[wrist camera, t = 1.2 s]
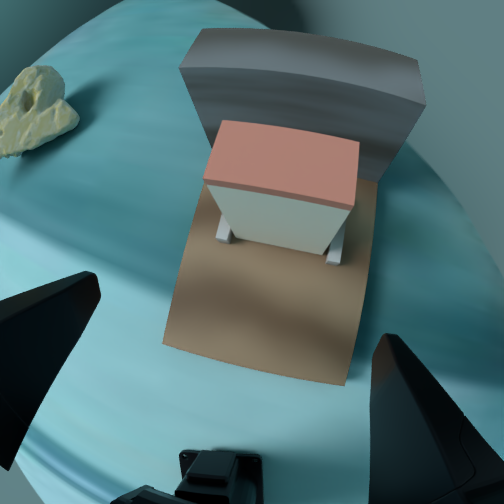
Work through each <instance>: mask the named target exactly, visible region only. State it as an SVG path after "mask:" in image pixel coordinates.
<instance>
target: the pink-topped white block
mask: <svg viewBox="0 0 504 504" xmlns="http://www.w3.org/2000/svg"><path fill="white" fill-rule="evenodd" d="M359 143H360V142H357V141H353V140H348V139H344V138H339V137H335V136H330V135H325V134H320V133H315V132H309V131H304V130H298V129H292V128H285V127H279V126H272V125H264V124H257V123H248V122H239V121H229V120H222V123H221V125H220V128H219V131H218V134H217V137H216V140H215V143H214V146H213V148H212V151H211V154H210V157H209V160H208V163H207V167H206V170H205V173H204V176H203V180H204V181H205V183H206V185H207V187H208V189H209V190H210V192H211V194H212V196H213V198H214V199H215V201H216V203H217V205H218V207H219V208H220V210H221V212H222V214H223V216H224V217H225V219H226V221H227V223H228V224H229V226H230V228H231V230H232V232H233V233H234V235H235V237H236V238H239V239H244V240H250V241H255V242H260V243H265V244H270V245H275V246H280V247H285V248H289V249H294V250H299V251H304V252H309V253H314V254H319V255H322V254H323V253H324V251H325V250H326V248H327V247H328V245H329V244H330V242H331V241H332V239H333V238H334V236H335V235H336V233H337V232H338V230H339V228H340V227H341V225H342V224H343V222H344V221H345V219H346V218H347V216H348V214H349V213H350V211H351V210H352V208H353V207H354V202H355V192H356V182H357V171H358V158H359Z"/></svg>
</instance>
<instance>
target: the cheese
mask: <svg viewBox="0 0 504 504" xmlns="http://www.w3.org/2000/svg"><path fill="white" fill-rule="evenodd" d="M64 95H65V83H64V80H63V78H62V77H61V75H60V74H59V73H58V72H57V71H56V70H55V69H54V68H53V67H52V66H46V65H44V66H39V65H37V66H32V67H27V68H26V69H24V70H23V71H22V72H21V73H20V74H19V75H18V77H17V78H16V79H15V81H14V84H13V86H12V88H11V90H10V93H9V95H8V97H7V98H6V99H5V101H4V102H3V103H2V104H1V105H0V159H1V158H2V157H4V156H5V157H6V158H9V156H14V157H18V156H20V155H21V153H22V152H23V151H25V150H32V149H35V148H36V147H39V146H41V145H42V144H44V143H46V142H48V141H52V140H54V139H55V138H56V137H57V136H59V135H62V134H64V133H65V132H67V131H69V130H72V129H74V128H75V127H76V126H77V124H78V122H79V120H80V117H79V115H78V114H77V112H76V111H75V110H74V108H72V107H71V106H70V105H69V104H68V103H67V102H66V101H65V100H63V99H64Z"/></svg>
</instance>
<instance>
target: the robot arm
mask: <svg viewBox="0 0 504 504" xmlns="http://www.w3.org/2000/svg"><path fill="white" fill-rule="evenodd" d="M100 299H101V292H100V287H99V283H98V278H97V276H96V274H94V273H92V272H88V271H83V272H80V273H77V274H74V275H71V276H68V277H66V278H63V279H60V280H57V281H54V282H51V283H48V284H45V285H42V286H40V287H37V288H34V289H31V290H28V291H26V292H23V293H20V294H17V295H14V296H12V297H9V298H6V299H4V300H1V301H0V466H1V467H3V468H4V469H5V470H7V471H9V470H10V467H11V465H12V463H13V461H14V459H15V456H16V454H17V452H18V450H19V448H20V445H21V443H22V441H23V439H24V437H25V435H26V433H27V431H28V429H29V426H30V424H31V422H32V420H33V418H34V416H35V414H36V412H37V411H38V409H39V407H40V405H41V403H42V401H43V399H44V397H45V396H46V394H47V392H48V390H49V388H50V387H51V385H52V383H53V381H54V380H55V378H56V376H57V374H58V373H59V371H60V369H61V368H62V366H63V364H64V363H65V361H66V359H67V358H68V356H69V354H70V353H71V351H72V350H73V348H74V346H75V345H76V343H77V342H78V340H79V338H80V337H81V335H82V333H83V331H84V330H85V328H86V326H87V324H88V322H89V320H90V318H91V316H92V314H93V312H94V311H95V309H96V307H97V305H98V303H99V301H100ZM183 454H185V455H187V456H188V457H185V456H184V455H183ZM253 459H257V460H258V461H257V462H254V461H253ZM179 460H180V467H181V474H182V481H181V483H180V484H179V486H178V487H177V489H176V490H175V494H174V495H170V494H167V493H164V492H161V491H158V490H156V489H154V487H151V486H148V485H144V486H142V487H140V488H138V489H135V490H133V491H131V492H129V493H127V494H124V495H122V496H120V497H118V498H117V499H115V500H113V501H111V503H110V504H264V499H263V469H262V457H261V456H260V455H258V454H235V453H234V452H223V451H208V450H202V451H191V450H183V451H181V452H180V454H179ZM368 504H504V461H503V460H502V459H501V458H500V456H499V455H498V454H497V453H496V452H495V451H494V450H493V449H492V448H491V446H490V445H489V444H488V443H487V442H486V441H485V439H484V438H483V437H482V436H481V435H480V434H479V432H478V431H477V430H476V429H475V427H474V426H473V425H472V424H471V422H470V421H469V420H468V418H467V417H466V416H464V413H463V412H462V411H461V410H460V408H459V407H458V406H457V405H456V403H455V402H454V401H453V400H452V398H451V397H450V396H449V395H448V393H447V392H446V391H445V390H444V389H443V387H442V386H441V385H440V384H439V382H438V381H437V380H436V379H435V378H434V376H433V375H432V374H431V373H430V372H429V370H428V369H427V368H426V367H425V366H424V365H423V363H422V362H421V361H420V360H419V359H418V358H417V356H416V355H415V354H414V353H413V352H412V351H411V349H410V348H409V347H408V346H407V345H406V344H405V343H404V341H403V340H402V339H401V338H400V337H399V336H398V335H396V334H390V333H385V334H383V335H382V337H381V339H380V341H379V343H378V345H377V347H376V349H375V351H374V353H373V357H372V373H371V391H370V484H369V501H368Z"/></svg>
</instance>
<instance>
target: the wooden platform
mask: <svg viewBox="0 0 504 504" xmlns="http://www.w3.org/2000/svg"><path fill="white" fill-rule="evenodd" d="M179 70H180V72H181V75H182V77H183V80H184V82H185V84H186V87H187V89H188V92H189V94H190V97H191V99H192V101H193V104H194V106H195V109H196V111H197V114H198V116H199V118H200V121H201V123H202V126H203V128H204V131H205V133H206V136H207V138H208V140H209V143H210V145H211V148H213V146H214V143H215V140H216V137H217V134H218V131H219V128H220V125H221V123H222V120H229V121H239V122H248V123H257V124H264V125H272V126H279V127H285V128H292V129H298V130H304V131H309V132H315V133H320V134H325V135H330V136H335V137H339V138H344V139H348V140H353V141H357V142H360V143H359V158H358V171H357V182H356V192H355V202H354V207H353V208H352V210H351V211H350V213H349V214H348V216H347V218H346V219H345V221H344V222H343V224H342V225H341V227H340V228H339V230H338V232H337V233H336V235H335V236H334V238H333V239H332V241H331V242H330V244H329V245H328V247H327V248H326V250H325V251H324V253H323V254H322V255H319V254H314V253H309V252H304V251H299V250H294V249H289V248H285V247H280V246H275V245H270V244H265V243H260V242H255V241H250V240H244V239H239V238H236V237H235V235H234V233H233V232H232V230H231V228H230V226H229V224H228V223H227V221H226V219H225V217H224V216H223V214H222V212H221V210H220V208H219V207H218V205H217V203H216V201H215V199H214V198H213V196H212V194H211V192H210V190H209V189H208V187H207V185H206V183H205V181H204V185H203V188H202V191H201V194H200V198H199V201H198V204H197V208H196V211H195V215H194V218H193V222H192V225H191V229H190V232H189V236H188V239H187V243H186V247H185V250H184V254H183V258H182V262H181V266H180V269H179V273H178V277H177V281H176V285H175V289H174V294H173V298H172V302H171V306H170V311H169V315H168V319H167V324H166V328H165V333H164V338H163V342H162V344H164V345H167V346H171V347H174V348H177V349H180V350H183V351H187V352H190V353H193V354H197V355H200V356H204V357H207V358H211V359H214V360H218V361H222V362H226V363H229V364H233V365H237V366H241V367H246V368H250V369H254V370H258V371H263V372H267V373H272V374H277V375H282V376H287V377H292V378H297V379H303V380H308V381H314V382H320V383H326V384H333V385H340V386H345V382H346V378H347V374H348V371H349V367H350V363H351V359H352V354H353V350H354V346H355V341H356V337H357V332H358V327H359V323H360V318H361V312H362V307H363V302H364V296H365V290H366V284H367V278H368V271H369V264H370V257H371V250H372V241H373V233H374V223H375V212H376V200H377V186H378V182H379V180H380V179H381V177H382V176H383V174H384V173H385V171H386V170H387V168H388V166H389V165H390V163H391V162H392V160H393V159H394V157H395V156H396V154H397V153H398V151H399V149H400V148H401V146H402V145H403V143H404V141H405V140H406V138H407V137H408V135H409V133H410V132H411V130H412V129H413V127H414V125H415V123H416V122H417V120H418V119H419V117H420V115H421V114H422V112H423V110H424V109H425V107H426V101H425V95H424V90H423V84H422V80H421V74H420V70H419V65H418V61H417V60H415V59H413V58H410V57H407V56H404V55H401V54H398V53H394V52H391V51H388V50H384V49H381V48H377V47H373V46H369V45H365V44H361V43H357V42H352V41H348V40H343V39H338V38H333V37H327V36H321V35H314V34H308V33H300V32H292V31H282V30H270V29H251V28H208V29H202V30H201V32H200V33H199V35H198V36H197V38H196V39H195V41H194V43H193V44H192V46H191V47H190V49H189V51H188V52H187V54H186V56H185V57H184V59H183V61H182V63H181V64H180V66H179Z"/></svg>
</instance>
